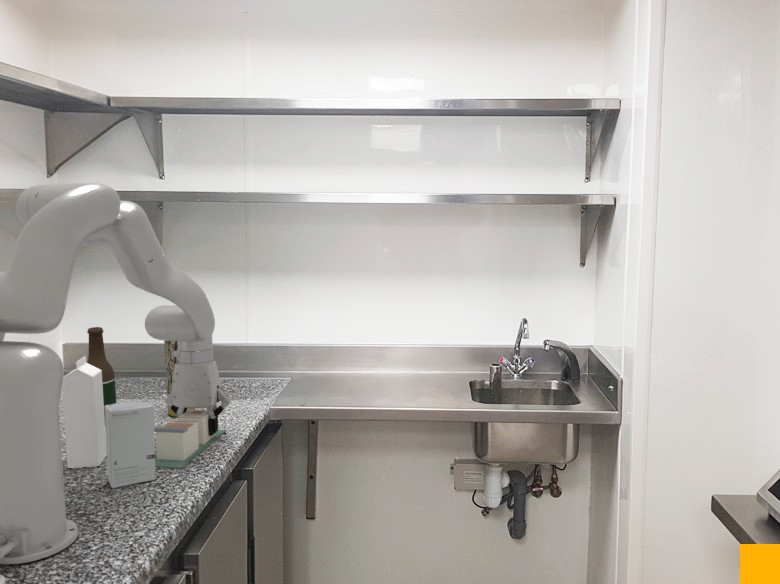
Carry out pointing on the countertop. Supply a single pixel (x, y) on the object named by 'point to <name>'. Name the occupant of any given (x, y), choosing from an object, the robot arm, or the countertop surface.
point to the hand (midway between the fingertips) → (198, 432)
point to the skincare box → (130, 443)
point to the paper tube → (170, 368)
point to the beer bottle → (101, 364)
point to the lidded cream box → (176, 440)
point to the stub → (202, 420)
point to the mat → (179, 463)
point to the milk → (84, 416)
